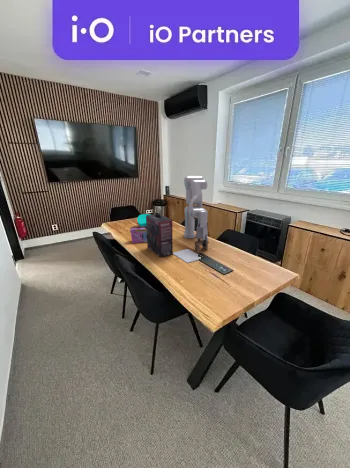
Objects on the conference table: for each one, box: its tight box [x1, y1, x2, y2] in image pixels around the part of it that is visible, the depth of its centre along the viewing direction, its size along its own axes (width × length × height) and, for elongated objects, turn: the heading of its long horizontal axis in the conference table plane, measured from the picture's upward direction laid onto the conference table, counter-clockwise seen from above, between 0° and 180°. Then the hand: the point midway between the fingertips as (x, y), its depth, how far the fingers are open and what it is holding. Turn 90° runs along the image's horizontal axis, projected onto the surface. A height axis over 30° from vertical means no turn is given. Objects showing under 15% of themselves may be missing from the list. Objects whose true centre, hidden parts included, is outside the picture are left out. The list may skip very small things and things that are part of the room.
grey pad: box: [172, 248, 202, 264], centre depth 164 cm, size 21×16×1 cm
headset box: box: [146, 211, 174, 258], centre depth 168 cm, size 25×12×33 cm, turn 32°
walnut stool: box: [193, 239, 210, 253], centre depth 174 cm, size 6×11×8 cm, turn 124°
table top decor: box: [136, 213, 152, 227], centre depth 230 cm, size 40×28×13 cm
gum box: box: [129, 226, 147, 244], centre depth 193 cm, size 24×8×14 cm, turn 105°
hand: (201, 245), depth 174 cm, fingers closed on walnut stool, 5 cm apart
